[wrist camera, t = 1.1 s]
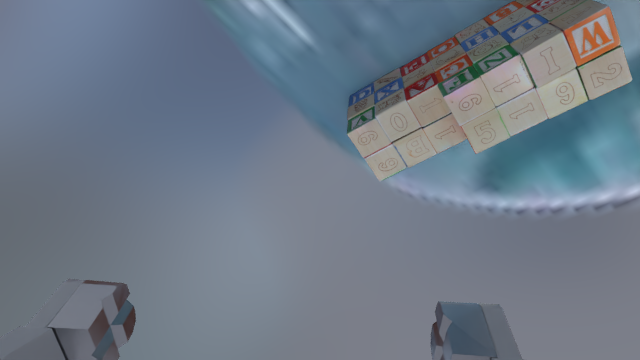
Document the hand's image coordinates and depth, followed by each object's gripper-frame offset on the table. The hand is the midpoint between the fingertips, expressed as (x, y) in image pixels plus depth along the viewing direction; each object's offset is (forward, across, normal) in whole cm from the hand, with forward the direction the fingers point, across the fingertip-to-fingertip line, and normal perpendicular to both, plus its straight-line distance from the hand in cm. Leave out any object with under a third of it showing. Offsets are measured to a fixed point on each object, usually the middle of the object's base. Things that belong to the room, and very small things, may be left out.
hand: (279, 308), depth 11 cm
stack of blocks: (+37, -12, +4) cm, 39 cm away
